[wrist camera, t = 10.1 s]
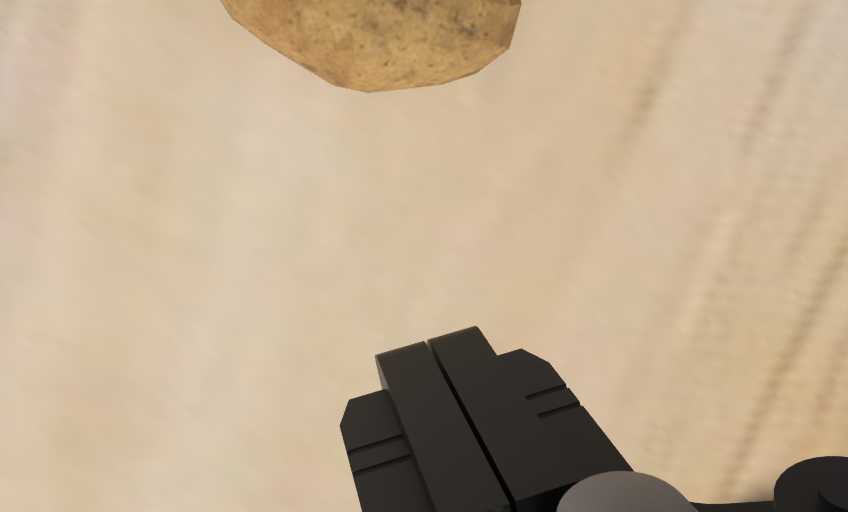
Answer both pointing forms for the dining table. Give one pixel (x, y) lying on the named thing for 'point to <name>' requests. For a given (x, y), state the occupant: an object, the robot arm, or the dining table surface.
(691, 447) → the dining table surface
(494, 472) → the robot arm
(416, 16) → the potato
